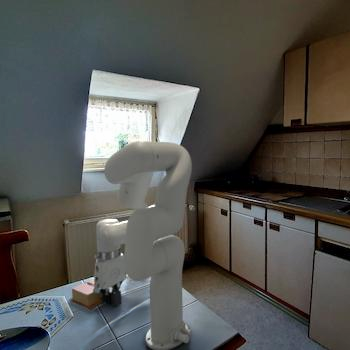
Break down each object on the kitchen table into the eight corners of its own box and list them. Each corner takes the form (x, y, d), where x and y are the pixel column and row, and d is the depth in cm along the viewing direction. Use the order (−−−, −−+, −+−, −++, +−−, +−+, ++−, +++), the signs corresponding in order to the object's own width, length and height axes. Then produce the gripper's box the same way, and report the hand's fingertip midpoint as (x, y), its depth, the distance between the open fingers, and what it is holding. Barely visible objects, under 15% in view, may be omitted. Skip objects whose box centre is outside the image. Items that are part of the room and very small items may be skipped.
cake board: (121, 296, 103) (120, 294, 103) (90, 312, 92) (90, 310, 92) (99, 288, 109) (99, 285, 109) (68, 302, 99) (68, 300, 99)
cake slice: (100, 300, 98) (99, 289, 98) (88, 306, 94) (87, 294, 94) (84, 293, 103) (83, 282, 102) (72, 299, 99) (71, 288, 98)
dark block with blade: (121, 304, 95) (120, 291, 95) (115, 307, 93) (114, 294, 93) (94, 293, 103) (94, 281, 102) (88, 296, 100) (88, 283, 100)
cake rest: (114, 293, 103) (113, 282, 103) (103, 298, 99) (102, 287, 99) (98, 287, 108) (98, 276, 108) (87, 292, 104) (87, 281, 104)
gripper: (93, 263, 86) (96, 316, 87) (135, 248, 100) (136, 293, 101) (80, 259, 89) (83, 310, 91) (122, 244, 103) (124, 289, 105)
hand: (111, 301), depth 96 cm, fingers closed on dark block with blade, 2 cm apart
